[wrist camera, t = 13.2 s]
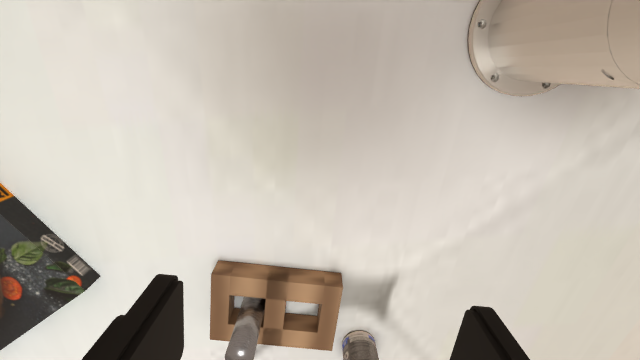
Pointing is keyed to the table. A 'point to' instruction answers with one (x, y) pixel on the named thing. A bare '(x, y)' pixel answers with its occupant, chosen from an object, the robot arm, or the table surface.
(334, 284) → the hole block
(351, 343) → the pill bottle
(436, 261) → the table surface
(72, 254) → the pizza box
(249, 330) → the peg
